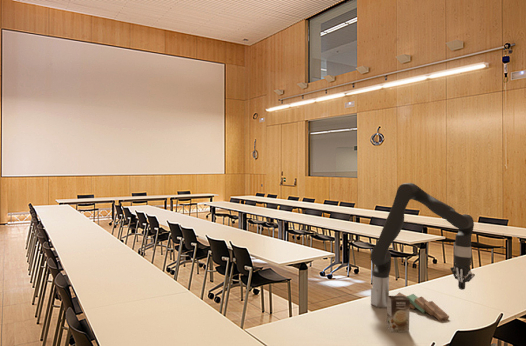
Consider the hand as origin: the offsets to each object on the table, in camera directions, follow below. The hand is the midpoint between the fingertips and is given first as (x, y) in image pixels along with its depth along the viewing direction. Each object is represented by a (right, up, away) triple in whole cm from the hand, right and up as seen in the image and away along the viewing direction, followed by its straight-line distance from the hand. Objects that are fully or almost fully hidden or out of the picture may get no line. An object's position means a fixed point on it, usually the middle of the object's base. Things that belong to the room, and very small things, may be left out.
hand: (461, 289), depth 184 cm
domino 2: (-8, -19, +22) cm, 30 cm away
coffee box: (-32, -21, 0) cm, 38 cm away
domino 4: (-3, -19, +11) cm, 22 cm away
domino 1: (-11, -18, +27) cm, 34 cm away
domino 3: (-5, -19, +17) cm, 26 cm away
